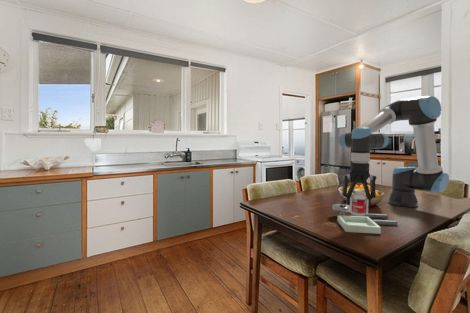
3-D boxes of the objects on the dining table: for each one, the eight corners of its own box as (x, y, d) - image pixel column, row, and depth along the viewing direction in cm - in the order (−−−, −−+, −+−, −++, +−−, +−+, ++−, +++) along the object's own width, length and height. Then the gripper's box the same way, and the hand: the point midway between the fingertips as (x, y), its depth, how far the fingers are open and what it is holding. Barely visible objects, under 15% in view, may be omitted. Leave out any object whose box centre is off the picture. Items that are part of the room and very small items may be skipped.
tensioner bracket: (386, 217, 121) (386, 214, 121) (397, 225, 110) (397, 221, 110) (365, 216, 123) (365, 213, 123) (374, 224, 112) (374, 220, 112)
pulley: (349, 214, 126) (350, 202, 126) (356, 221, 117) (356, 208, 116) (329, 213, 128) (330, 202, 128) (334, 219, 118) (335, 207, 118)
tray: (367, 222, 115) (367, 216, 115) (380, 233, 101) (380, 227, 101) (337, 220, 117) (337, 215, 117) (345, 231, 103) (346, 225, 103)
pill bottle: (348, 214, 108) (349, 190, 107) (352, 211, 113) (353, 188, 112) (363, 217, 104) (364, 192, 103) (366, 213, 109) (367, 190, 108)
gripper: (379, 161, 109) (376, 210, 111) (335, 161, 112) (333, 208, 114) (387, 163, 101) (384, 215, 103) (339, 162, 105) (338, 213, 106)
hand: (357, 212), depth 108 cm, fingers closed on pill bottle, 6 cm apart
